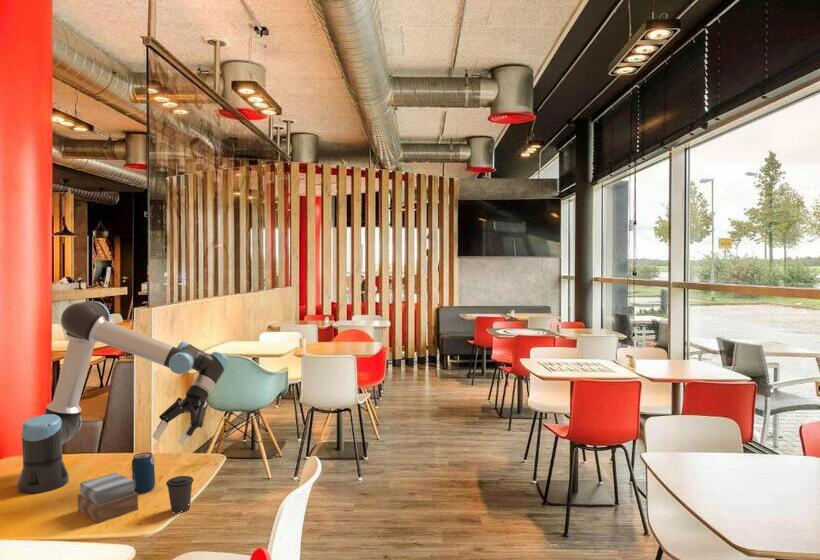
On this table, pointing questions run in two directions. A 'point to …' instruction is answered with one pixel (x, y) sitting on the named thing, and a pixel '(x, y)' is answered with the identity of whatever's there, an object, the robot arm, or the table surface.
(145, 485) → the soda can
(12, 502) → the table surface
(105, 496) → the two-tone square slab
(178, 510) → the coffee cup
